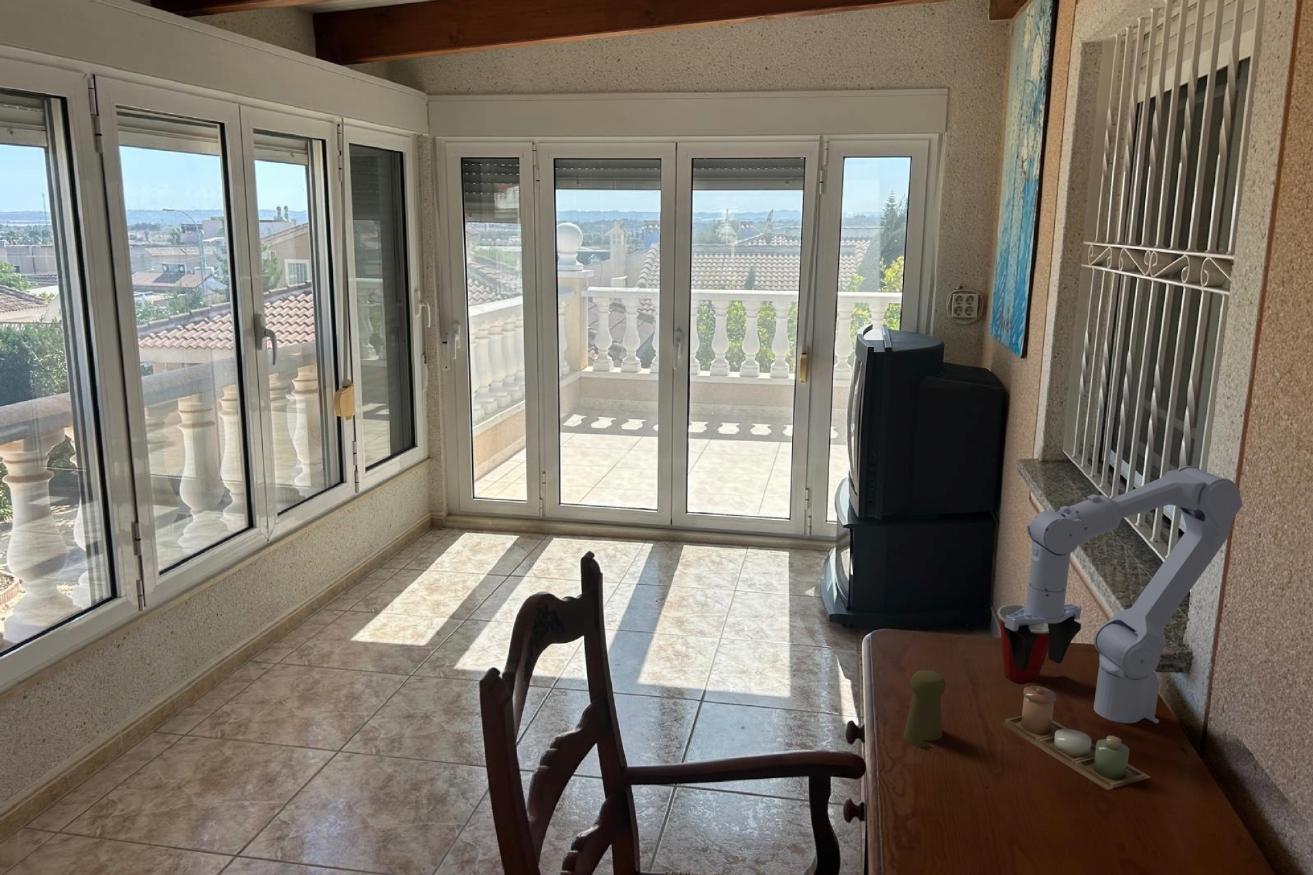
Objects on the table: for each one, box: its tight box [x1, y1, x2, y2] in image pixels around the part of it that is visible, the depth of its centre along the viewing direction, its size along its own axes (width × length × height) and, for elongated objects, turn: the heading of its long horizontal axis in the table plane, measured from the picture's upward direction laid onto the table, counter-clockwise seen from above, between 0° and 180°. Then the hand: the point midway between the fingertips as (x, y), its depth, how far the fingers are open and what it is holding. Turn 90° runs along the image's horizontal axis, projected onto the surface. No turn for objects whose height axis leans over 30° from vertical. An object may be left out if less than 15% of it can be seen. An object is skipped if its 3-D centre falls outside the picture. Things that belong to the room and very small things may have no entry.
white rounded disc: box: [1054, 728, 1093, 758], centre depth 152 cm, size 5×5×2 cm
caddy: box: [999, 715, 1152, 791], centre depth 152 cm, size 9×21×2 cm, turn 25°
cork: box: [903, 669, 946, 749], centre depth 155 cm, size 6×6×11 cm
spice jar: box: [1021, 685, 1057, 734], centre depth 158 cm, size 5×5×7 cm
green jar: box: [1093, 735, 1130, 779], centre depth 145 cm, size 4×4×5 cm
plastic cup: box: [996, 604, 1049, 684], centre depth 178 cm, size 11×11×12 cm
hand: (1037, 664), depth 161 cm, fingers open, 7 cm apart
